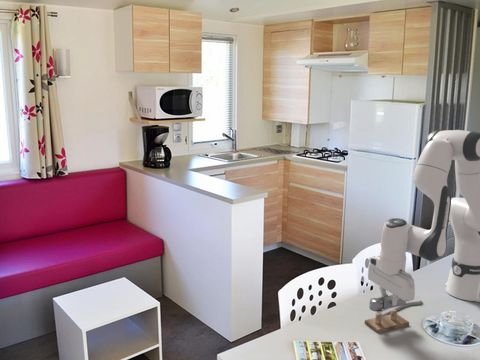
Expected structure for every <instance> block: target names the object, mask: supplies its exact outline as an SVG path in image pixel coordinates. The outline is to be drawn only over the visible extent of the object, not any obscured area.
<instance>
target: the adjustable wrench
mask: <svg viewBox="0 0 480 360" xmlns="http://www.w3.org/2000/svg"><path fill="white" fill-rule="evenodd" d="M421 304H422V298H421V297H419V296H418V297H417V298H414V299H413V300H411V301H406V305H402V306H398V307H393V308H389V309H384V310H383V309H382V311H380V312H375V317H376V313H381V314H382V316H385V315H388V314H391V310H392V309H395V310H397V311H399V310H401V309H403V308H405V307H407V306H413V305H414V306H416V305H417V306H418V305H421Z"/></svg>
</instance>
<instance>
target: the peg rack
mask: <svg viewBox="0 0 480 360" xmlns="http://www.w3.org/2000/svg"><path fill="white" fill-rule="evenodd" d="M375 315H376V316H375V317H373V318H368V319H364V324H365V325H366V326H367V327H368V328H370V329H372V330H373V331H374V332H375V331H376V332H375V333H377V334H378V333H379V334H380V333H382V332H386V331H390V330H395V329H398V328H403V327H406V326H409V325H410V322H409V321H408V320H407V319H405V318H404V317H402V315H401V316H400V315H399V314H398V310H395V309H392V310H391V314H389V315H385V316H382V314H381V313H376V312H375Z"/></svg>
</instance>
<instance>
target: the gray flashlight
mask: <svg viewBox="0 0 480 360" xmlns="http://www.w3.org/2000/svg"><path fill="white" fill-rule="evenodd" d="M393 298H394V297H393V294H390V295H389V294H388V296H385V297H372V298H369V310H370V311H373V312H375V313H376V312H380V311H382V310H384V309H389V308H393V307H398V306H402V305H406V301H404V300H402V299H400V298H399V299H398V300H397V305H395V306H393V305H391V304H390V300H391V299H393Z"/></svg>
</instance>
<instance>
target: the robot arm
mask: <svg viewBox="0 0 480 360" xmlns="http://www.w3.org/2000/svg"><path fill="white" fill-rule="evenodd" d="M425 139H426V140H425V141H424V142H425V143H424V144H425V145H424V148H423V150H422V151H421V153H420V156H419V158H418V161H417V163H416V166H415V169H414V171H413V176H412V177H413V178H412V179H413V180H412V181H413V184H414V185H415V187H416V189H417V190H418V191H420V192H421V194H424V195H426V196H427V198H429V199H430V200H431V202H433V207H434V208H433V216H432V223H431V228H430V229H425V228H424V227H420V226H416V225H413V224H410V223H408V221H406V219H404V218H403V219H402V218H394V217H393V218H389V219H387V220H385V222H384V223H383V226H382V229H381V237H380V247H381V249H380V252H379V255H374V256H371V257H369V259H368V261H369V262H368V263H369V264H368V269H367V277H368V280H369V281H370V282H372V283H374V284H376V285H377V286H379V291H380V294H381V295H380V296H381V297H385V296H389V294H387V292H389V293H391V295H393V297H394V298H393V299H391V300H390V304H391V305H393V306H395V305H397V300H398V299H399V298H400V299H402V300H404V301H411V300H413V299H415V296H416V295H415V294H416V291H415V289H416V287H415V286H416V285H415V279H414V278H413V276H412V274H410V273H408V272H406V267H407V266H406V265H407V255H406V254H407V253H408V254H412V255H415V256H417V257H420V258H422V259H424V260H426V261H429V262H435V261H438V260H439V259H441V258H442V257H443V256H444V255H445V253H446V250H447V245H448V244H447V243H448V242H447V238H448V237H447V235H448V228H449V223H450V225H451V228H452V231H453V236H454V254H453V257H452V261H451V268H450V269H449V274H448V278H447V281H445V286H446V287H445V291H446V293H447V294H448V295H450V296H452V297H453V298H454V297H455V298H456V299H460V300H463V301H469V302H477V303H480V234H479V233H480V132H478V131H473V130H472V131H469V130H462V129H453V130H452V129H451V130H450V129H448V130H447V129H445V130H444V129H438V130H433V131H432V132H430V133H429V134H428V135H427V137H426V138H425ZM452 161H454V172H455V183H456V184H455V185H456V190H457V191H458V193H459V194H460V195H461V196H462V197H453V196H452V190H451V188H450V187H449V186H448V175H449V173H450V170H451V166H452Z"/></svg>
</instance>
